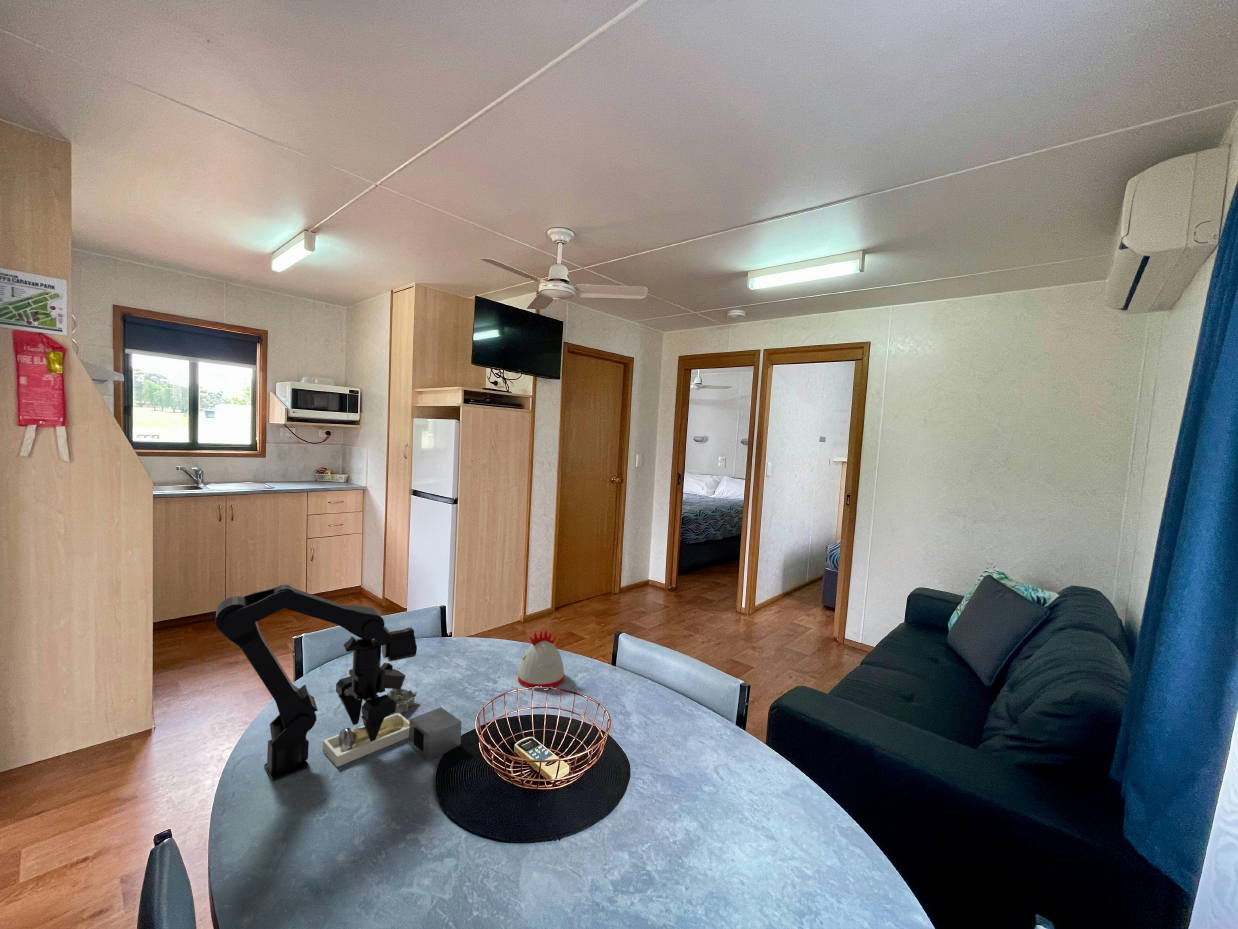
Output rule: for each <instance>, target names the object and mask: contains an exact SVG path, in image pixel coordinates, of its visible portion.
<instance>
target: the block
mask: <svg viewBox="0 0 1238 929" xmlns="http://www.w3.org/2000/svg"><path fill="white" fill-rule="evenodd" d="M408 721H409V737H408V745H409V746H410V747H411V748H413V749H414V750H415V751H416V752H417V753H419V754H420V755H421V756H422V757H423V758H424V759H426V760H427V761H428V762H429V761H431V760H433V759H435V758H438V757H439V756H442V755H444V754H446V753H448V751H449V750H451V749H452V748H455V747H456V746H459V745H460V744H462V742H461V741H462V724H463V723H462V720H460V719H459V718H457V717H456V716H454V715H453V714H452V713H450V712H449V711H448V710H446V709H445V708H443V707H441V706H440V707H438V708H436V709H433V710H430V711H428V712H425V713H422V714H420V715H417V716H414V717H412V718H409V720H408ZM459 747H460V746H459ZM455 749H456V748H455ZM451 751H452V750H451ZM449 752H450V751H449Z"/></svg>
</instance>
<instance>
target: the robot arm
mask: <svg viewBox="0 0 1238 929" xmlns="http://www.w3.org/2000/svg"><path fill="white" fill-rule="evenodd" d="M284 609H286V610H289V611H292V612H296V613H299V614H302V615H305V616H309V617H311V618H315V619H319V620H322V621H324V622H328V623H331V624H335V625H338V626H339V627H341V628H343V629H345V631H347V632H349V633H351V634H353V635H354V636H356V637H358V638H359V639H358V638H356V637H354V636H350V639H348V640H347V641H346V642H344V643H343V648H344V650H345V651H346V652H347V653H349V652H352V668H351V669H348V675H349V676H346V677H342V678H340V679H339V680H338V681H337V683H335V692H336V693H337V695H338V696H337V697H338V698H339V700H340V702H341V703H342V705H343V707H344V709H345V711H346V713H347V715H348V717H349V720H350V721H351V723H352V725H353V726H357V725H358V724H359V722H360V717H361V720H362V723H363V726H365V729H366V732H367V734H368V737H369V740H370V741H371V742H372V741H374V740H376V737H377V735H378V732H379V730H380V727H381V724H382V722H383V720H384V718H385V717H386V716H388V715H391V714H392V713H395V712H396V711H397V702H396V701H394V700H393V699H392V698H391V697H389V696H388V695H387V694H386V695H385V694H383V695H380V696H379V695H378V693H379V694H382V693H384V692H386V689H391V690H392V689H397V690H400V689H402V688H403V684H404V682H405V679H406V675H405V674H404V673H402V672H401V671H400V670H397V669H396V668H394V666H393V665H392V663H390V662H394V661H400V660H406V659H409V658H414V657H416V655H417V650H418V645H417V643H416V642H417V640H416V635H415V629H414V628H412V627H406V628H404V629H400V630H394V631H389V629H388V628H387V627H386V626H385V621H384V618H383V617H382V616H381V615H380V612H378V611H377V610H376V609H375V608H373V607H369V606H362V605H346V604H342V603H338V602H336V601H333V600H330V599H327V598H325V597H324V598H323V597H320V596H318V595H315V594H312V593H309V592H307V591H303V590H300V589H297V588H294V587H292V586H291V585H288V584H280V585H277V586H275V587H271V588H269V589H265V590H260V591H256V592H252V593H250V594H249V593H248V594H247V595H244V596H238V595H237V596H235V595H234V596H231V597H227V598H225V599H223V601H221V602H220V603H219V604H218V606H217V608H216V612H215V626H216V629H217V630H218V631H219V632H220V633H221V634H222V635H223V636H224V637H225V638H226V639H227V640H229V641H230V642H231V643H232V644H235V646H237V647H238V648H240V649H241V650H242V653H243V654H244V655H245V657H246V658H247V660H248V661H249V663H250V664H251V666H252V667H253V669H254V670H255V672H256V674H257V676H259V678H260V680H261V682H262V683H263V685H264V686H265V688H266V689H267V691H268V692H269V694H270V695H271V697H272V698H273V700H274V701H275V704H276V707H277V711H278V715H277V716H276V717H275V718H274V719H273V720H272V721H271V722H270V723H269V730H270V736H271V739H269V740H267V752H266V753H267V755H266V756H267V757H266V758H267V759H266V763H265V764H264V765H263V768H264V770H265V771H266V772H267V774H268V775H269V777H270V778H271V779H272V780H273V781H275V780H278V779H281V778H283V777H287V776H289V775H291V774H293V773H296V772H299V771H301V770H304V769H306V768H308V767H309V763H308V761H307V760H309V743H310V742H309V740H308V739H307V735H308V733H309V731H311V730H312V728H313V727H314V726H315V724H316V722H317V714H316V712H318V706H317V704H316V700H315V697H314V696H313V695H311V693H310V692H309V691H308V688H307V685H306V684H303V685H302V686H301V687H300V688H299V687H298V686H296V685H295V684H293V682H292V681H291V680H290V677H289V676H288V675H287V673H286V671H285V670H284V668H283V666H282V665H281V663H280V662H279V660H278V659H277V657H276V655H275V654H274V652H273V651H272V649H271V648H270V646H269V644H268V643H267V641H266V640H265V638H264V636H263V635H262V633H261V630H260V627H259V625H258V622H260V621H261V620H263V619H265V618H267V617H270V616H271V615H272V614H275V613H276V612H278V611H281V610H284ZM382 657H383V659H386V658H387V661H388V662H383V663H382V665H381V662H382V661H381V658H382ZM363 701H364V703H363ZM361 714H362V715H361Z"/></svg>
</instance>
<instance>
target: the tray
mask: <svg viewBox="0 0 1238 929" xmlns="http://www.w3.org/2000/svg"><path fill="white" fill-rule="evenodd" d="M400 716H401V717H402V718H403V721H404V726H403V728H402V729H399V730H396V731H393V732H390V733H387V734H384V735H381V736H378V737H376V740H374V741H372V742H371V741H370V740H365V741H362V742H359V743H356V744H353V747H352V749H351V750H348V751H346V752H343V751H342V750H341V749H340V745H339V734H337V735H334V736H332V737H329V738H326V739H323V740H322V752H324V754H325V755H326V756H327V758H329V760H330V761H331V762H332V763H333V764H334V765H335V766H336V767H337V768H339V767H340V766H342V765H345V764H347V763H351V762H352V761H355V760H357V759H360V758H362V757H365V756H367V755H369V754H371V753H375V752H377V751H380V750H381V749H384V748H386V747H389V746H391V745H393V744H397V743H398V742H400V741H403V740H405V739H409V721H410V720H408V719H407V718H406V717H405V716H403V714H402V713H401V714H399V713H396V714H393V715H391V716H388V717H385V718H384V720H383V721H387V720H390V719H393V718H397V717H400ZM364 727H365V726H364V725H361V726H358V727H356V728H352V729H351V731H354V730H357V729H360V728H364Z"/></svg>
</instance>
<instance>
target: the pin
mask: <svg viewBox="0 0 1238 929" xmlns="http://www.w3.org/2000/svg"><path fill="white" fill-rule="evenodd" d="M403 726H404V721H403V718H402V717H401V716H400V717H397V718H393V719H390V720H387V721H383V722H382V724H381V727H380V730H379V732H378V735H377V737H378V736H381V735H384V734H387V733H390V732H393V731H396V730H399V729H402V728H403ZM351 730H352V729H351V728H350V727H347V728H343V729H340V731H339V734H338V735H339V745H340V749H341V750H342V751H343V752H346V751H348V750H351V749H352V747H353V744H356V743H359V742H362V741H365V740H369V737H368V734H367V732H366V729H365V727H364V728H360V729H357V730H354V731H351Z"/></svg>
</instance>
